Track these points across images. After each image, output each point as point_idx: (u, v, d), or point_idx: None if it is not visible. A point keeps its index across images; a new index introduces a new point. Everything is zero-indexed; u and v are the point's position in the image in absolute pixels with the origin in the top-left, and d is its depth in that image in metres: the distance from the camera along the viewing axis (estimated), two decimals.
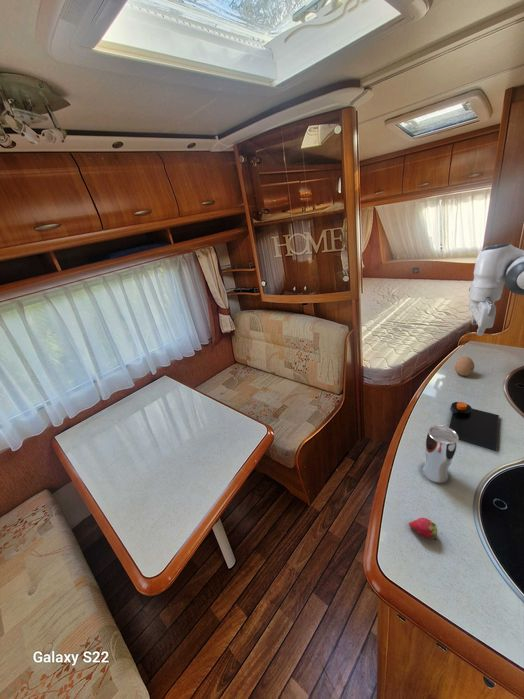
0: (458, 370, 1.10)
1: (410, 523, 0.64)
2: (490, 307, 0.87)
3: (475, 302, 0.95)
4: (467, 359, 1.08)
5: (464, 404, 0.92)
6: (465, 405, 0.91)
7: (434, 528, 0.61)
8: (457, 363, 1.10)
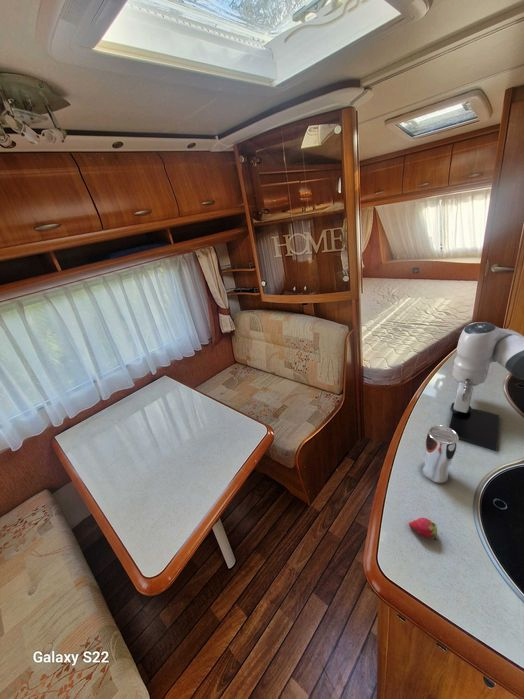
0: None
1: (410, 523, 0.64)
2: (463, 393, 0.80)
3: (457, 380, 0.88)
4: None
5: None
6: None
7: (434, 528, 0.61)
8: None
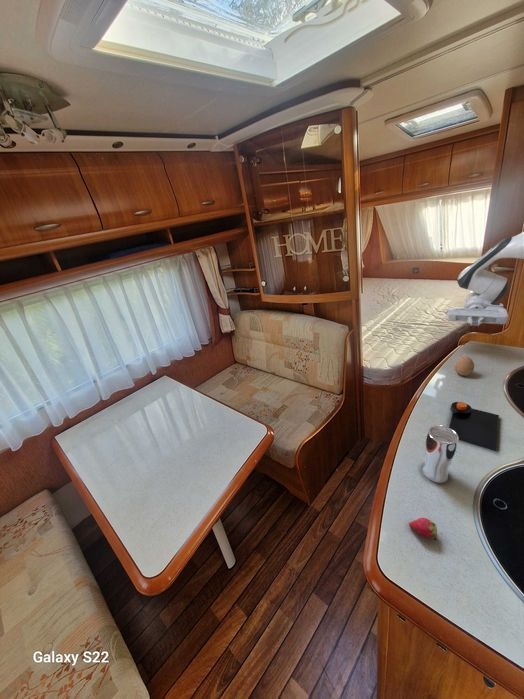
0: (458, 370, 1.10)
1: (410, 523, 0.64)
2: None
3: None
4: (467, 359, 1.08)
5: (464, 404, 0.92)
6: (465, 405, 0.91)
7: (434, 528, 0.61)
8: (457, 363, 1.10)
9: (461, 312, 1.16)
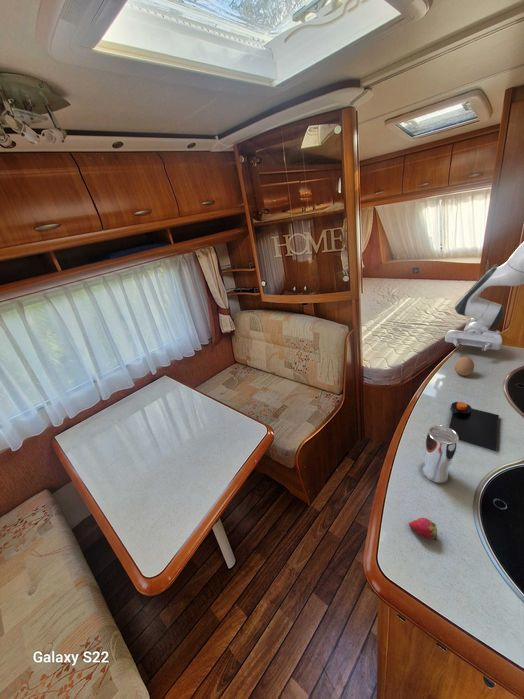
0: (458, 370, 1.10)
1: (410, 523, 0.64)
2: None
3: None
4: (467, 359, 1.08)
5: (464, 404, 0.92)
6: (465, 405, 0.91)
7: (434, 528, 0.61)
8: (457, 363, 1.10)
9: (459, 335, 1.23)
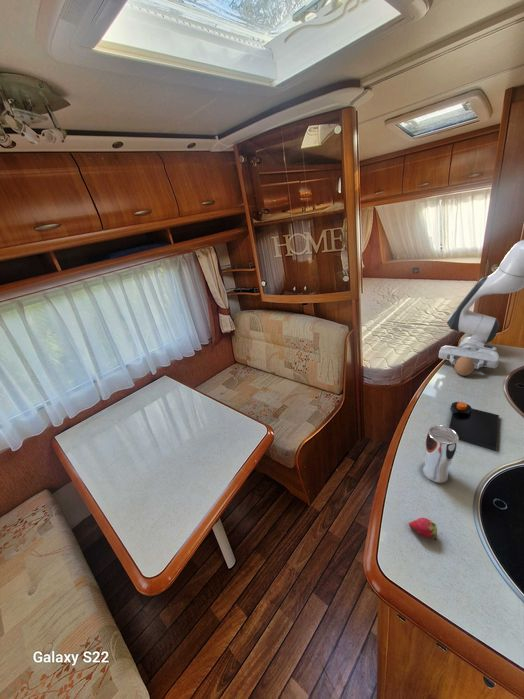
0: (458, 370, 1.10)
1: (410, 523, 0.64)
2: None
3: None
4: (467, 359, 1.08)
5: (464, 404, 0.92)
6: (465, 405, 0.91)
7: (434, 528, 0.61)
8: (457, 363, 1.10)
9: (453, 351, 1.16)
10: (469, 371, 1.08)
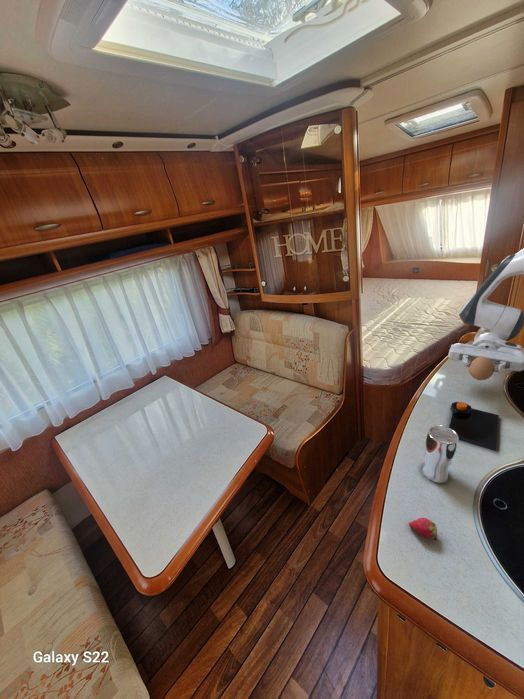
0: (474, 374, 0.88)
1: (410, 523, 0.64)
2: None
3: None
4: (485, 360, 0.86)
5: (464, 404, 0.92)
6: (465, 405, 0.91)
7: (434, 528, 0.61)
8: (472, 365, 0.88)
9: (467, 350, 0.94)
10: (488, 375, 0.86)
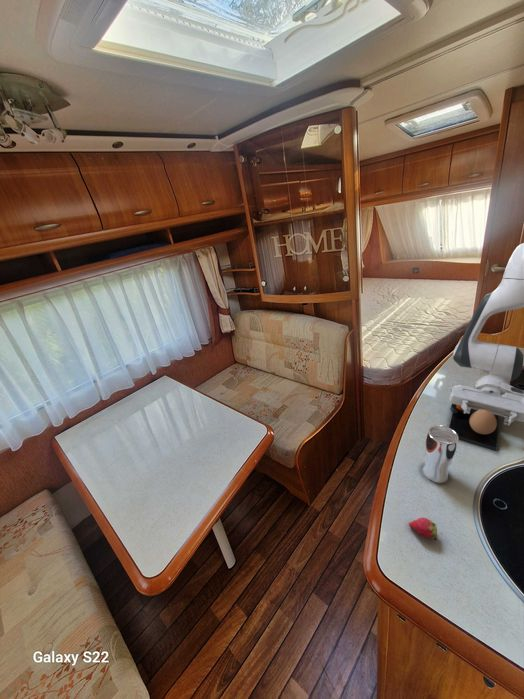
0: (475, 428, 0.82)
1: (410, 523, 0.64)
2: None
3: None
4: (487, 414, 0.80)
5: None
6: None
7: (434, 528, 0.61)
8: (473, 418, 0.82)
9: (469, 395, 0.87)
10: (490, 430, 0.80)
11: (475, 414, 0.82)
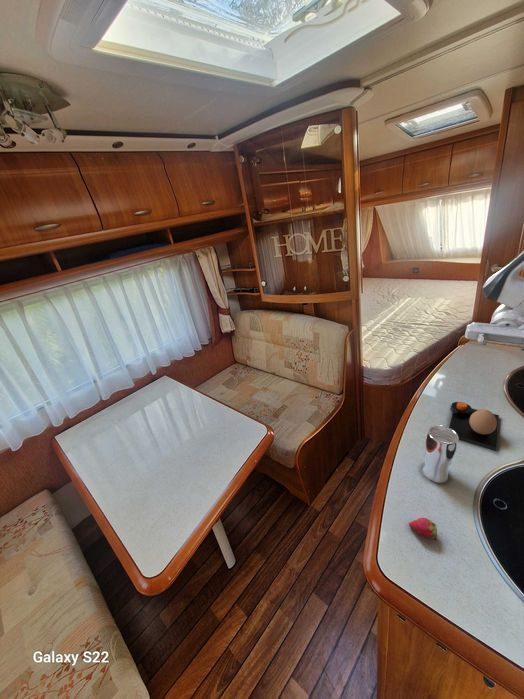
0: (475, 428, 0.82)
1: (410, 523, 0.64)
2: None
3: None
4: (487, 414, 0.80)
5: (464, 404, 0.92)
6: (465, 405, 0.91)
7: (434, 528, 0.61)
8: (473, 418, 0.82)
9: (485, 329, 0.87)
10: (490, 430, 0.80)
11: (475, 414, 0.82)
